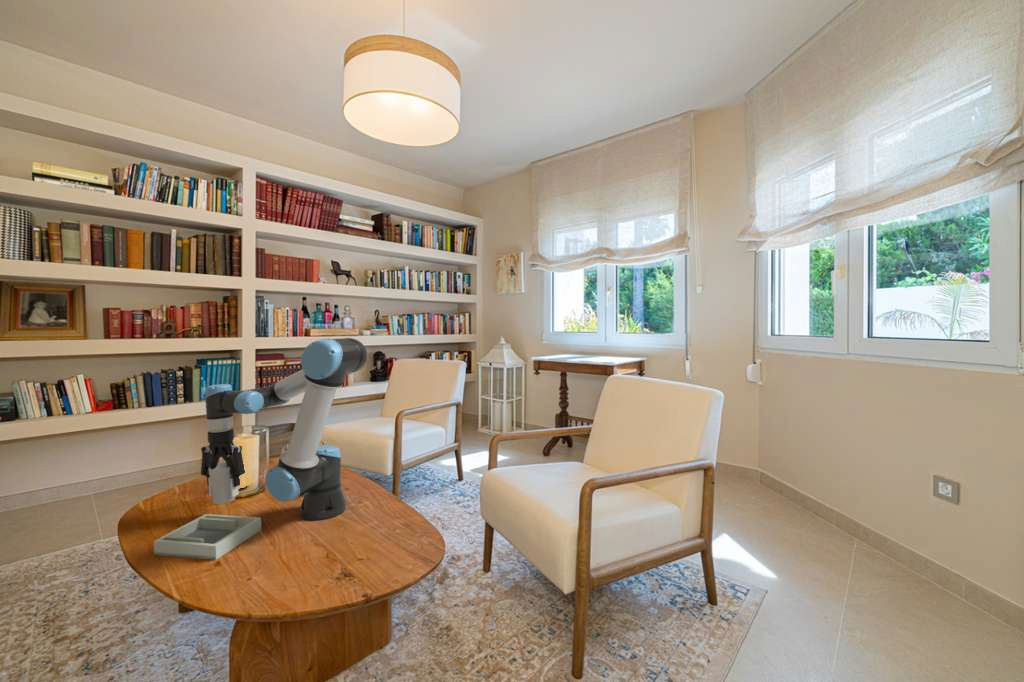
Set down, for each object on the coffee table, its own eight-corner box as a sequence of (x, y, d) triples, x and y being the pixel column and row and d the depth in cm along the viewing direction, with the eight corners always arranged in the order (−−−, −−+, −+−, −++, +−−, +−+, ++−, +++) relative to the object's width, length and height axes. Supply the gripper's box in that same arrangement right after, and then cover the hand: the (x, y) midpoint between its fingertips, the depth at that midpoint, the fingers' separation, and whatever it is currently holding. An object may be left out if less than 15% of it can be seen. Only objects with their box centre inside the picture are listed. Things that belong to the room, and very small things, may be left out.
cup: (243, 495, 153) (241, 462, 153) (226, 505, 145) (224, 469, 145) (222, 495, 154) (220, 462, 154) (204, 504, 146) (202, 469, 146)
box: (261, 529, 140) (261, 517, 140) (216, 559, 123) (215, 546, 122) (206, 525, 143) (205, 513, 143) (154, 554, 125) (153, 541, 125)
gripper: (255, 427, 151) (258, 491, 152) (203, 426, 154) (206, 490, 155) (239, 432, 144) (242, 500, 144) (184, 432, 146) (188, 498, 147)
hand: (224, 495), depth 150 cm, fingers closed on cup, 7 cm apart
